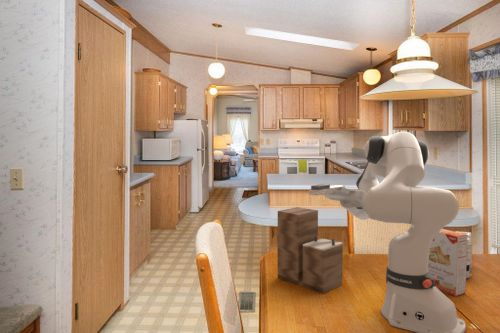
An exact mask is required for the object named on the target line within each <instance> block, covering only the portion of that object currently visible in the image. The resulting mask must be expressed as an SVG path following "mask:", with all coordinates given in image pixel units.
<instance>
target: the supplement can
mask: <svg viewBox="0 0 500 333" xmlns="http://www.w3.org/2000/svg"><path fill="white" fill-rule="evenodd" d="M472 244H473V242H471V240H470V238H468V237H467V267H466V280H467V279H469V278H470V277H471V273H472V249H473V248H472V246H473V245H472Z"/></svg>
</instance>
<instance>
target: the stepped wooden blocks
mask: <svg viewBox="0 0 500 333" xmlns="http://www.w3.org/2000/svg"><path fill="white" fill-rule="evenodd" d="M318 229H319V211H318V209H311V208H305V207H298V206H296V207H292V208H287V209H281V210H278V211H277V279H279V280H282V281H285V282H288V283H290V284H293V285H297V286H300V287H303V288H306V289H309V290H312V291H314V292H318V293H321V294H326V293H328V292H330V291H332V290H334V289H336V288H338V287H340V286H342V285H343V267H344V266H343V263H344V262H343V260H344V259H343V257H344V255H343V252H344V251H343V250H344V243H343V242H341V241H337V240H336V239H334V238H333V239H327V238H323V237H321V238H319V230H318Z"/></svg>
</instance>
